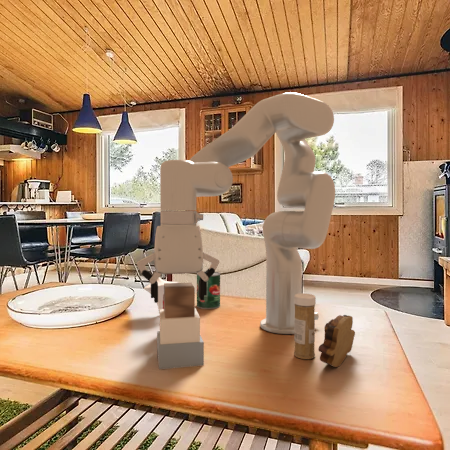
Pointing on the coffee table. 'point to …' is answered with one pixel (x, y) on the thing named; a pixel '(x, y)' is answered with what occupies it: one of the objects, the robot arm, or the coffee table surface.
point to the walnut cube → (179, 300)
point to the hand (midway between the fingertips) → (178, 300)
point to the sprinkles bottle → (304, 325)
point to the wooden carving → (337, 340)
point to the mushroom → (159, 291)
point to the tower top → (179, 329)
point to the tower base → (180, 354)
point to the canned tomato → (210, 293)
